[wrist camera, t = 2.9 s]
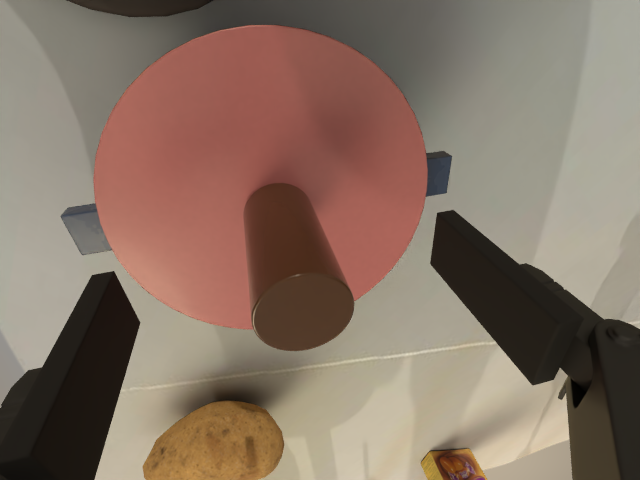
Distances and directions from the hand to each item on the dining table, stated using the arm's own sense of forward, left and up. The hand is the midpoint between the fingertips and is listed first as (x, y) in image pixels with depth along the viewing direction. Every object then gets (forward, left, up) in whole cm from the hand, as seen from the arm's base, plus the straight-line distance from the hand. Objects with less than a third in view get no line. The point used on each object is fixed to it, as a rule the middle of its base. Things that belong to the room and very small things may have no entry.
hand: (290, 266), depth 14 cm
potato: (+29, -10, -14) cm, 33 cm away
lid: (0, 0, -5) cm, 5 cm away
